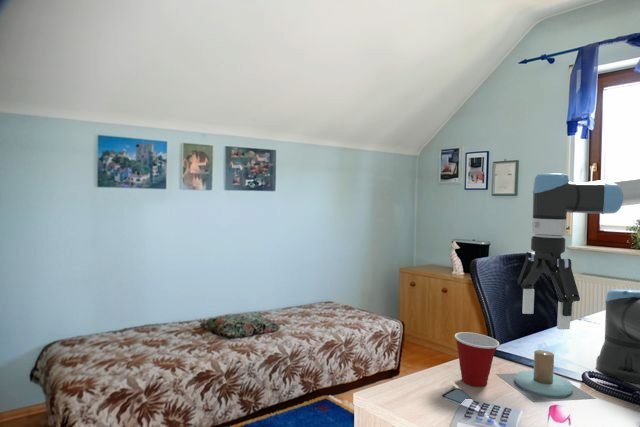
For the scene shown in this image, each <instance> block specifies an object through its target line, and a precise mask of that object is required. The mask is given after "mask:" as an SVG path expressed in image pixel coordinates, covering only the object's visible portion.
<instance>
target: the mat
mask: <svg viewBox="0 0 640 427" xmlns="http://www.w3.org/2000/svg"><path fill="white" fill-rule="evenodd" d="M516 373H517V372H516ZM516 373H515V372H513V373H512V372H511V373H496V374H495V375H497V376H498V377H499V378H500V379H502V380H503V381H504V382H506V383H507V384H508V385H510V386H511V387H513V388H514V389H515V390H516V391H518V392H519V393H521V394H522V395H523V396H524V397H526V398H528V400H531V401H532V402H533V403H540V402H542V403H543V402H558V401H559V402H560V401H561V402H562V401H577V400H594V399H597V398H596V397H594V396H593V395H591V394H590V393H588V392H586V391H585V390H583V389H581V388H580V387H578V386H576V385H574V384H573V383H572V385H573V393H572V394H571V395H569V396H566V397H548V396H542V395H538V394H534V393H531V392H528V391H526V390H524V389H522V388H520V387H519V386H518V385H517V384H516V383H515V374H516ZM553 374H554V375H557V374H555V372H553Z"/></svg>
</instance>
